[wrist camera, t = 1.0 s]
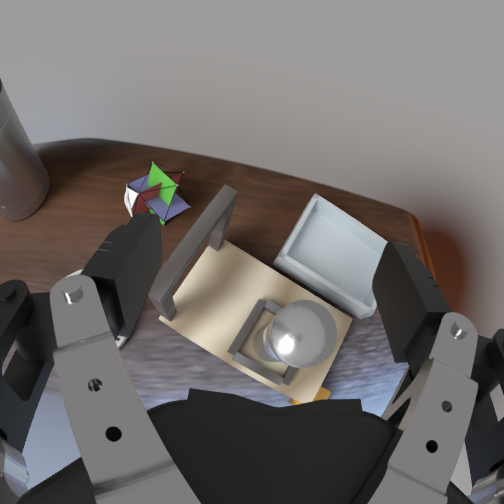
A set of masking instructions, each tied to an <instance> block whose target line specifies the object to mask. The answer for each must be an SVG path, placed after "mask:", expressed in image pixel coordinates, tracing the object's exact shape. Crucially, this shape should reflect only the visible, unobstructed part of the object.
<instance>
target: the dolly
mask: <svg viewBox="0 0 504 504" xmlns="http://www.w3.org/2000/svg"><path fill="white" fill-rule="evenodd" d="M237 194H238V191H236V190H234V189H233V188H231V187H229V186H228V185H226V184H225V185H224V186H223V187H222V189H221V190H220V191H219V193H218V194H217V195H216V196H215V198H214V199H213V200H212V201H211V203H210V204H209V205H208V207H207V208H206V209H205V210H204V212H203V213H202V214H201V216H200V217H199V218H198V220H197V221H196V222H195V224H194V225H193V226H192V227H191V229H190V230H189V231H188V233H187V234H186V235H185V237H184V238H183V239H182V241H181V242H180V244H179V245H178V246H177V248H176V249H175V250H174V252H173V253H172V254H171V256H170V257H169V259H168V260H167V261H166V263H165V264H164V265H163V267H162V268H161V270H160V271H159V272H158V274H157V276H156V278H155V280H154V283H153V285H152V287H151V289H150V292H149V294H148V296H149V298H150V299H151V301H152V302H153V304H154V306H155V307H156V309H157V310H158V312H159V313H160V317H159V320H161V321H162V322H164V323H165V324H167V325H168V326H170V327H171V328H172V329H174V330H176V331H177V332H179V333H180V334H182V335H183V336H185V337H186V338H188V339H189V340H191V341H192V342H194V343H196V344H197V345H199V346H200V347H202V348H204V349H205V350H207V351H208V352H210V353H212V354H213V355H215V356H217V357H218V358H220V359H222V360H223V361H225V362H227V363H228V364H230V365H232V366H233V367H235V368H237V369H239V370H240V371H242V372H244V373H246V374H247V375H249V376H251V377H253V378H254V379H256V380H258V381H260V382H262V383H264V384H265V385H267V386H269V387H271V388H273V389H275V390H277V391H278V392H280V393H282V394H284V395H286V396H288V397H290V400H289V403H291V404H292V405H297V404H302V403H307V402H312V401H316V400H321V399H328V397H329V395H330V393H331V392H330V391H328V390H326V389H324V388H323V387H321V384H322V382H323V380H324V378H325V376H326V375H327V373H328V371H329V369H330V367H331V365H332V363H333V361H334V358H335V356H336V354H337V352H338V350H339V348H340V346H341V344H342V342H343V340H344V337H345V335H346V333H347V331H348V329H349V326H350V324H351V322H352V320H353V319H352V318H351V317H349V316H347V315H346V314H344V313H343V312H341V311H339V310H338V309H336V308H334V307H333V306H331V305H330V304H328V303H326V302H325V301H323V300H321V299H320V298H318V297H317V296H315V295H313V294H312V293H310V292H309V291H307V290H305V289H304V288H302V287H300V286H299V285H297V284H296V283H294V282H292V281H291V280H289V279H288V278H286V277H284V276H283V275H281V274H280V273H278V272H276V271H275V270H273V269H271V268H270V267H268V266H267V265H265V264H263V263H262V262H260V261H259V260H257V259H255V258H254V257H252V256H251V255H249V254H247V253H246V252H244V251H242V250H241V249H239V248H238V247H236V246H234V245H233V244H231V243H230V242H228V241H226V240H225V237H226V233H227V229H228V226H229V222H230V219H231V215H232V212H233V208H234V205H235V201H236V197H237ZM209 236H210V239H209V245H208V247H207V248H206V250H205V251H204V253H203V254H202V256H201V257H200V258H199V260H198V261H197V263H196V264H195V266H194V267H193V268H192V270H191V271H190V273H189V274H188V276H187V277H186V279H185V280H184V281H183V283H182V284H181V286H180V287H179V289H178V290H177V292H176V293H175V295H174V296H173V297H172V293H171V290H172V288H173V287H174V285H175V284H176V282H177V281H178V279H179V278H180V276H181V275H182V274H183V272H184V271H185V269H186V268H187V266H188V265H189V264H190V262H191V261H192V259H193V258H194V257H195V255H196V254H197V252H198V251H199V249H200V248H201V247H202V245H203V244H204V242H205V241H206V240H207V238H208V237H209ZM297 300H311V301H315V302H317V303H319V304H321V305H322V306H324V307H325V308H326V309H327V310H328V311H329V312H330V313H331V315H332V316H333V318H334V320H335V323H336V327H337V342H336V345H335V348H334V350H333V352H332V353H331V355H330V356H329V357H328V358H327V359H326V360H325V361H324V362H322V363H321V364H319V365H317V366H314V367H308V368H297V367H292V366H289V365H287V364H285V363H283V362H266V361H263V360H262V359H260V358H259V357H258V356H257V355H256V353H255V352H254V349H253V337H254V335H255V333H256V331H257V330H258V329H259V328H261V327H262V326H264V325H266V324H268V323H270V322H271V321H272V319H273V317H274V316H275V314H276V313H277V312H278V311H279V310H280V309H282V308H283V307H285V306H286V305H288V304H290V303H292V302H294V301H297Z"/></svg>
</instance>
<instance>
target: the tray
mask: <svg viewBox="0 0 504 504" xmlns="http://www.w3.org/2000/svg"><path fill="white" fill-rule="evenodd" d="M387 243H388V242H387V241H386V240H384V239H383V238H382V237H380V236H379V235H377V234H376V233H374V232H373V231H372V230H370V229H369V228H367V227H366V226H364V225H363V224H361V223H360V222H359V221H357V220H356V219H354V218H353V217H351V216H350V215H348V214H347V213H345V212H344V211H342V210H341V209H339V208H338V207H336V206H334V205H333V204H331V203H330V202H328V201H327V200H325V199H324V198H322V197H320V196H319V195H317V194H316V193H315V194H314V195H313V197H312V198H311V200H310V201H309V203H308V204H307V206H306V207H305V209H304V211H303V213H302V214H301V216H300V218H299V219H298V221H297V223H296V225H295V226H294V228H293V230H292V232H291V233H290V235H289V237H288V238H287V240H286V242H285V243H284V245H283V247H282V249H281V250H280V252H279V254H278V255H277V257H276V259H275V260H274V262H273V264H272V265H274V266H275V267H277V268H278V269H280V270H282V271H283V272H285V273H286V274H288V275H290V276H291V277H293V278H294V279H296V280H298V281H299V282H301V283H303V284H304V285H306V286H307V287H309V288H311V289H312V290H314V291H315V292H317V293H319V294H320V295H322V296H323V297H325V298H327V299H328V300H330V301H332V302H333V303H335V304H336V305H338V306H340V307H341V308H343V309H344V310H346V311H348V312H349V313H351V314H352V315H354V316H356V317H357V318H359V319H363V318H366V317H369V316H372V315H373V314H374V311H375V309H376V306H377V303H376V300H375V297H374V294H373V291H372V280H373V276H374V273H375V271H376V268H377V266H378V263H379V261H380V258H381V255H382V253H383V250H384V247H385V245H386V244H387Z"/></svg>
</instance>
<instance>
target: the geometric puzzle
mask: <svg viewBox="0 0 504 504" xmlns="http://www.w3.org/2000/svg"><path fill="white" fill-rule="evenodd" d="M151 164H152V165H151V166H152V167H150V168H151V171H150V174H148V173H147V174H148V175H146V176H143V177H141V178H139V179H137V180H135V181H132V182H130V183H128V184H126V185H127V186H128V187H129V188H131V189H132V190H131V189H129V188H128V187H127V186H126V192H125V195H124V199H125V205H126V207H127V209H128V211H129V213H130V215H131V217H132V218H133V216H134V215H135V214H136V213H137V212H140V213H146V212H148V211H149V212H150V213H152V214H158V215H159V218H160V223H161V224H162V226H164V225H166V224H167V223H166V224H165V222H166V221H167V220H169V219H170V218H172V217H174V216H176V215H177V214H179V213H180V214H181V212H184V210H187V209H188V208H191V206H190V205H189V203H188V202H187V203H188V204H187V203H186V202H185V201H184V200H183V199H181V198H180V197H179V196H178V195H177V194H176V192H177V190H178V188H179V184H180V181H181V178H182V176H183V173H184V172H181V171H180V172H163V171H162V170H161V169H160V168H159V167H158V166H157V165H155V164H154V162H152V163H151ZM159 165H160V164H159ZM162 166H163V165H162ZM165 167H166V166H165ZM168 168H169V167H168ZM145 169H146V168H145ZM171 169H172V168H171ZM149 170H150V169H149ZM174 170H175V169H174ZM177 171H178V170H177ZM148 172H149V171H148ZM165 173H181V174H179V175H176V176H174V177H172V178H169V177H168V176H167V175H166V174H165ZM139 174H140V173H139ZM184 178H185V177H184ZM133 179H134V178H133ZM185 184H186V183H185ZM186 189H187V188H186ZM179 190H180V188H179ZM180 191H181V190H180ZM181 193H182V192H181ZM187 194H188V193H187ZM137 195H138V196H137ZM182 195H183V193H182ZM183 196H184V195H183ZM136 197H137V201H136V206H135V210H134V215H133V216H132V211H131V209H132V206H133V204H134V202H135V200H136ZM184 198H185V197H184ZM188 199H189V198H188ZM185 200H186V198H185ZM186 201H187V200H186ZM180 214H179V215H180ZM176 217H177V216H176ZM173 219H174V218H173ZM173 219H172V220H173ZM169 222H170V221H169Z"/></svg>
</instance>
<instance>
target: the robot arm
mask: <svg viewBox="0 0 504 504" xmlns="http://www.w3.org/2000/svg"><path fill="white" fill-rule="evenodd" d="M49 185H50V178H49V174H48V172H47V170H46V168H45V167H44V165H43V163H42V161H41V160H40V158H39V156H38V154H37V152H36V150H35V149H34V147H33V145H32V143H31V142H30V139H29V138H28V136H27V134H26V132H25V130H24V128H23V126H22V124H21V122H20V120H19V118H18V116H17V114H16V112H15V110H14V108H13V106H12V104H11V102H10V100H9V97H8V95H7V93H6V91H5V88H4V86H3V84H2V82H1V79H0V214H1V215H2V216H3V217H4V218H5V219H7V220H10V221H19V220H22V219H25V218H27V217H28V216H30V215H31V214H33V213H34V212H35V211H36V210H37V209H38V208H39V207H40V205H41V204H42V203H43V201H44V199H45V197H46V196H47V193H48V190H49ZM161 262H162V243H161V230H160V218H159V215H158V214H152V213H140V212H137V213H136V214H135V215H134V216H133V218H132V219H131V220H130V222H129V223H128V224H127V225H121V226H119V227H118V228H116V229H115V230H113V231H112V232H110V234H109V235H108V236H107V238H106V239H105V240H104V243H102V244H101V245H100V247H99V248H98V250H97V251H96V252H95V253H94V255H93V256H92V258H91V259H90V260H89V262H88V263H87V264H86V266H85V267H84V269H83V270H82V271H81V273H80V274H79V275H72V276H68V277H66V278H64V279H62V280H60V281H59V282H57V283H56V284H55V285H54V287H53V288H52V290H51V292H46V293H33V294H30V291H29V289H28V287H27V285H26V283H25V282H24V281H22V280H10V281H7V282H5V283H3V284H1V285H0V504H504V417H503V418H502V419H501V420H500V421H499V422H498V420H497V416H496V413H495V409H494V406H493V403H492V400H491V397H490V392H491V391H492V390H493V389H494V388H495V387H496V386H497V385H498V384H499V383H500V386H501V388H502V391H503V394H504V329H499V330H498V331H497V332H496V333H495V335H494V336H493V337H492V339H489V338H486V337H483V336H479V335H478V334H477V330H476V328H475V326H474V325H473V324H472V322H471V321H470V320H469V319H467V318H466V317H464V316H463V315H461V314H458V313H453V312H452V311H451V309H450V307H449V305H448V303H447V301H446V299H445V297H444V295H443V294H442V292H441V290H440V288H438V285H437V283H436V281H435V280H434V279H433V276H432V274H431V272H430V271H429V269H428V268H427V267H426V266H425V265H424V264H423V263H422V262H421V261H420V260H419V259H417V257H416V256H415V254H414V252H413V251H412V249H411V247H410V246H409V245H408V244H405V243H398V242H391V241H389V242H388V243H387V244H386V245H385V247H384V250H383V253H382V255H381V258H380V261H379V263H378V266H377V268H376V271H375V273H374V276H373V280H372V291H373V294H374V297H375V300H376V303H377V306H378V309H379V312H380V315H381V318H382V321H383V324H384V328H385V331H386V334H387V337H388V340H389V344H390V347H391V351H392V354H393V357H394V361H395V363H400V362H408V364H409V367H408V368H407V370H406V371H405V373H404V375H403V377H402V379H401V381H400V383H399V385H398V387H397V389H396V391H395V393H394V395H393V397H392V398H391V400H390V402H389V404H388V406H387V408H386V410H385V411H384V413H383V414H382V416H381V417H379V416H377V415H374V414H372V413H369V412H365V411H362V406H361V399H321V400H316V401H312V402H307V403H302V404H297V405H292V406H287V407H273V406H270V405H266V404H263V403H260V402H256V401H253V400H250V399H247V398H244V397H241V396H238V395H235V394H229V393H221V392H213V391H206V390H199V389H192V388H190V389H189V394H188V399H187V400H178V401H172V402H168V403H164V404H161V405H158V406H156V407H153V408H151V409H149V410H147V411H146V410H145V408H144V406H143V404H142V402H141V400H140V397H139V395H138V393H137V391H136V389H135V387H134V384H133V382H132V380H131V378H130V375H129V373H128V371H127V369H126V366H125V364H124V361H123V359H122V357H121V354H120V352H119V349H118V347H117V344H116V339H117V337H118V336H123V337H128V338H130V336H131V334H132V331H133V329H134V327H135V324H136V322H137V319H138V317H139V315H140V312H141V310H142V308H143V305H144V303H145V301H146V298H147V296H148V294H149V292H150V289H151V287H152V285H153V283H154V280H155V278H156V276H157V274H158V272H159V269H160V267H161ZM12 344H14V346H15V348H16V351H15V353H14V355H13V357H12V359H11V361H10V363H9V365H8V367H7V369H6V371H5V373H4V376H3V375H2V365H3V362H4V360H5V358H6V356H7V354H8V352H9V350H10V348H11V346H12ZM54 363H55V367H56V372H57V376H58V381H59V385H60V389H61V393H62V397H63V401H64V404H65V408H66V411H67V415H68V418H69V421H70V425H71V428H72V431H73V434H74V437H75V440H76V443H77V446H78V449H79V451H80V454H81V457H80V458H78V459H77V460H75V461H74V462H72V463H71V464H69V465H68V466H66V467H65V468H63V469H62V470H60V471H59V472H57V473H55V474H54V475H52V476H51V477H49V478H47V479H46V480H44V481H43V482H41V483H40V484H38V485H36V486H35V487H33V488H31V489H30V490H28V489H27V485H26V484H27V483H28V481H29V473H28V471H27V467H26V463H25V460H24V458H23V456H22V451H23V448H24V445H25V441H26V438H27V435H28V432H29V428H30V426H31V423H32V420H33V417H34V414H35V411H36V409H37V406H38V403H39V400H40V398H41V395H42V393H43V390H44V388H45V385H46V383H47V380H48V378H49V375H50V373H51V370H52V368H53V366H54ZM464 440H465V445H466V450H467V455H468V462H469V467H470V474H471V481H472V492H471V494H470V495H468V496H466V495H464V493H462V491H460V490H459V488H457V487H456V486H455V485H454V484H453V483H452V482H451V481H450V479H451V476H452V474H453V471H454V468H455V466H456V463H457V460H458V458H459V455H460V452H461V449H462V446H463V443H464Z"/></svg>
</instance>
